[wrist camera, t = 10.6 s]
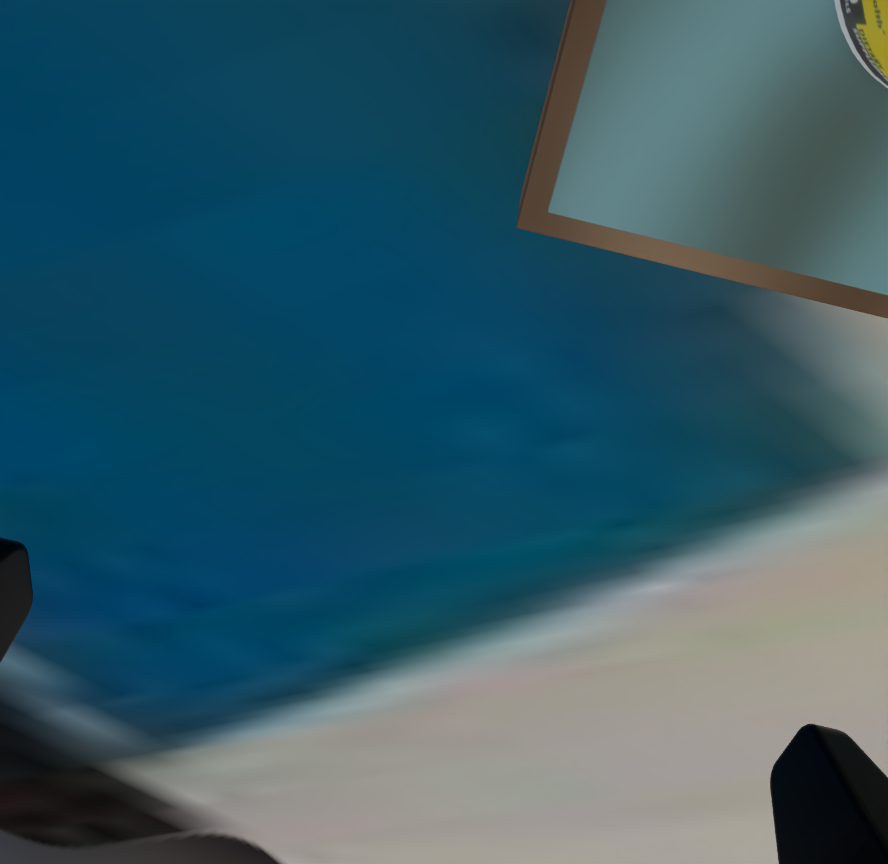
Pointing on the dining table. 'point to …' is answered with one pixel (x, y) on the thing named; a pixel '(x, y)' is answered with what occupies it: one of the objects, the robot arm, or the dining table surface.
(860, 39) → the supplement bottle
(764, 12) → the riser
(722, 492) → the dining table surface
